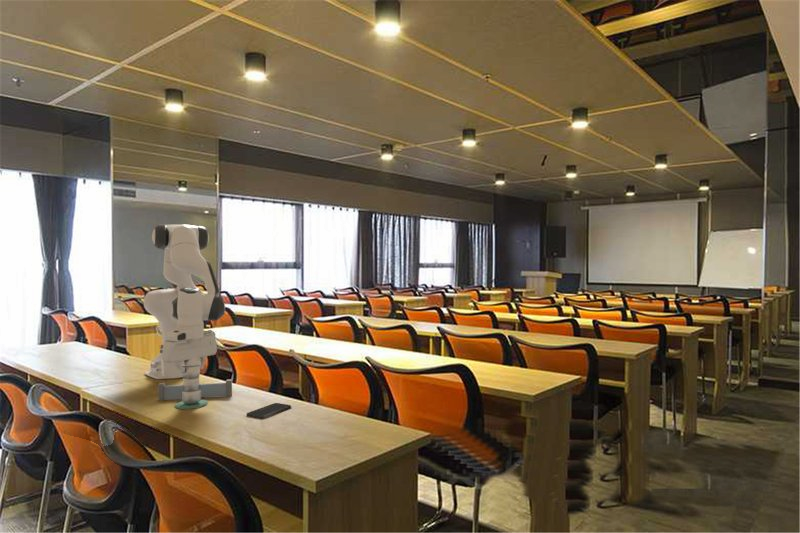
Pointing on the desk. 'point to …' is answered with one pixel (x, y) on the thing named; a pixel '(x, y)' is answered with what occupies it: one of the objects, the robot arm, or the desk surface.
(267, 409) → the phone
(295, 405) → the desk surface
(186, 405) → the mat
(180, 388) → the low wall
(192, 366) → the plastic bottle
